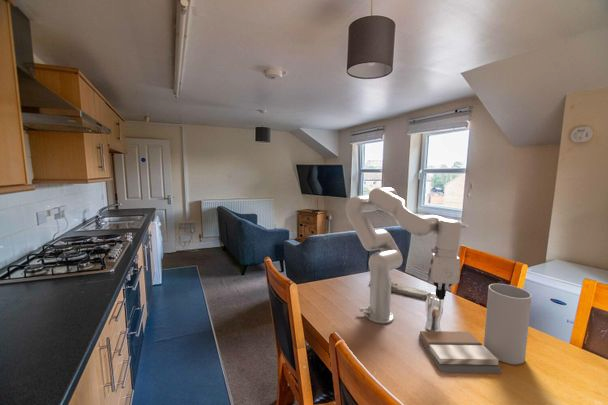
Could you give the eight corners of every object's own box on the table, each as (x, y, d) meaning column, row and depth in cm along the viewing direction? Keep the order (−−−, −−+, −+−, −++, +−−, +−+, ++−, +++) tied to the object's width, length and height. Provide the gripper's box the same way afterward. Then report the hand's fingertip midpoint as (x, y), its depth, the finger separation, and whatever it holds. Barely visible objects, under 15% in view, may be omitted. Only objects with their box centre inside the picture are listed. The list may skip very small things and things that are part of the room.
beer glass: (440, 325, 118) (442, 293, 117) (443, 334, 112) (445, 300, 110) (423, 322, 121) (425, 291, 119) (425, 331, 114) (427, 298, 112)
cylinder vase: (527, 370, 92) (535, 302, 89) (484, 357, 98) (489, 293, 95) (521, 350, 102) (528, 288, 99) (482, 339, 109) (487, 281, 106)
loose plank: (440, 364, 92) (440, 358, 92) (429, 349, 100) (429, 344, 100) (498, 364, 92) (498, 359, 92) (482, 350, 100) (483, 345, 100)
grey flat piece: (442, 372, 91) (442, 362, 90) (418, 338, 109) (419, 329, 109) (501, 373, 90) (502, 363, 90) (467, 338, 109) (468, 330, 109)
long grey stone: (430, 305, 139) (433, 299, 147) (431, 296, 139) (434, 290, 147) (366, 286, 158) (372, 281, 167) (367, 277, 158) (373, 273, 166)
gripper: (430, 254, 95) (424, 302, 98) (472, 256, 95) (465, 304, 98) (421, 248, 102) (416, 292, 105) (460, 249, 102) (454, 294, 105)
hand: (439, 297), depth 102 cm, fingers closed
